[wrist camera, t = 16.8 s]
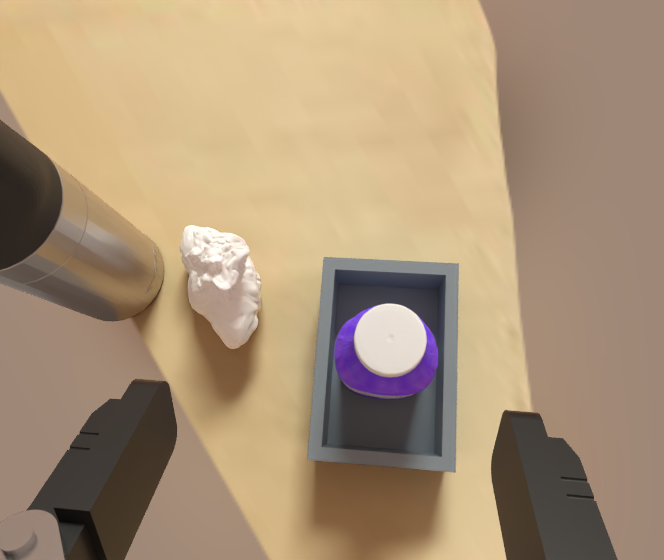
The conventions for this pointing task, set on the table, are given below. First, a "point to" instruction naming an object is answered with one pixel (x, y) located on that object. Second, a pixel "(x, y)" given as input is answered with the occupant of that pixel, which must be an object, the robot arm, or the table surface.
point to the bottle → (386, 353)
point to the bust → (222, 282)
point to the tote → (376, 414)
